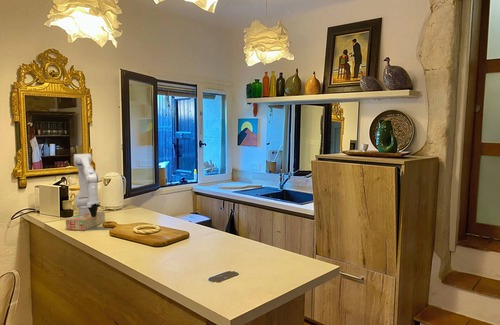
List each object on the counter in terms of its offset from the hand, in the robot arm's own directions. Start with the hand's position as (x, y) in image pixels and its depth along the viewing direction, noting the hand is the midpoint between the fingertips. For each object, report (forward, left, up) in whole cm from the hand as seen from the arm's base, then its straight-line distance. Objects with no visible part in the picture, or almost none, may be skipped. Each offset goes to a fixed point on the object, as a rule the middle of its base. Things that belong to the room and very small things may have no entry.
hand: (93, 216), depth 217 cm
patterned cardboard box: (-8, -2, -4) cm, 9 cm away
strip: (-2, 0, -8) cm, 8 cm away
